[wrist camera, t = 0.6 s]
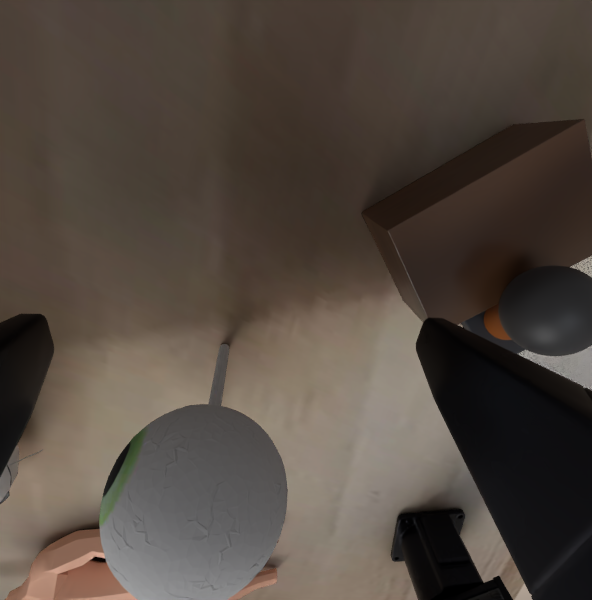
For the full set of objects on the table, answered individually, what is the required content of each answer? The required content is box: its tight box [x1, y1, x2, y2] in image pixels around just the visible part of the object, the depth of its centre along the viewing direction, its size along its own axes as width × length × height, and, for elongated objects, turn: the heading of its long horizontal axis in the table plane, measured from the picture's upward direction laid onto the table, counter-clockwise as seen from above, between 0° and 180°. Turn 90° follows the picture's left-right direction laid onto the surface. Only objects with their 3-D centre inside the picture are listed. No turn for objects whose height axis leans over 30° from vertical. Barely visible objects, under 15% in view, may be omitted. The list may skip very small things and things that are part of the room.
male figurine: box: [5, 529, 278, 600], centre depth 31 cm, size 11×5×25 cm
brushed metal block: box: [361, 119, 592, 325], centre depth 20 cm, size 7×10×5 cm
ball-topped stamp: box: [461, 265, 592, 356], centre depth 21 cm, size 8×4×10 cm, turn 30°
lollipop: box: [99, 344, 288, 600], centre depth 18 cm, size 7×7×15 cm
